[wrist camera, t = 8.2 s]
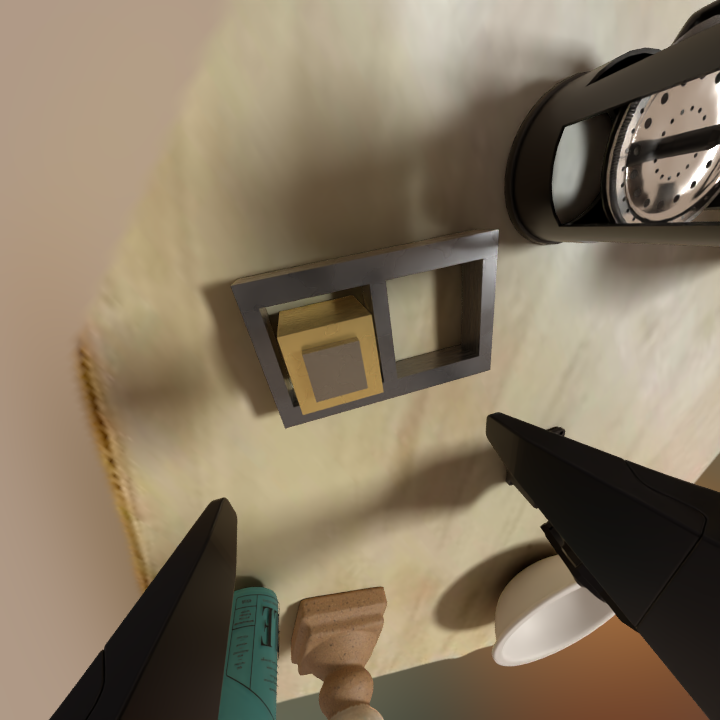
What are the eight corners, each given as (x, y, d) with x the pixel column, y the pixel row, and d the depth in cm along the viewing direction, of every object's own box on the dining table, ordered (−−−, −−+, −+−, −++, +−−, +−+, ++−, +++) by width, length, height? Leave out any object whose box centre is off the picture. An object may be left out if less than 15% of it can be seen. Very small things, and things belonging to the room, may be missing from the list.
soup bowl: (494, 626, 52) (520, 676, 46) (443, 590, 41) (469, 650, 35) (603, 558, 51) (644, 601, 45) (582, 501, 39) (633, 548, 33)
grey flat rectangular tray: (475, 229, 19) (499, 229, 17) (471, 357, 23) (490, 369, 21) (237, 278, 17) (230, 285, 15) (285, 408, 21) (285, 428, 19)
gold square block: (352, 294, 19) (374, 317, 14) (363, 358, 21) (386, 397, 16) (279, 311, 18) (276, 342, 13) (299, 375, 20) (303, 421, 16)
